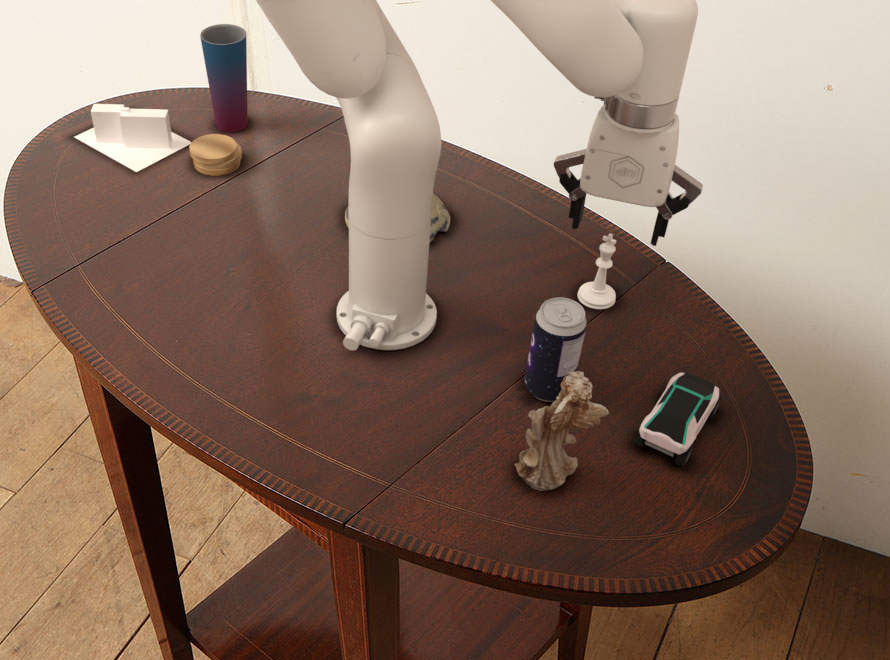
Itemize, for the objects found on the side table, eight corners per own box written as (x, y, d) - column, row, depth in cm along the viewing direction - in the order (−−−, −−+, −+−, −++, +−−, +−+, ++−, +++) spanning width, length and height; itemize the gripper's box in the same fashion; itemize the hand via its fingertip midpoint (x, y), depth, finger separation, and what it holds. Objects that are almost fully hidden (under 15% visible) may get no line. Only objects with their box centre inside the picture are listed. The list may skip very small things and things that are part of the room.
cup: (234, 140, 154) (226, 48, 143) (201, 127, 156) (190, 36, 146) (262, 121, 158) (255, 31, 147) (228, 109, 160) (220, 19, 150)
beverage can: (563, 370, 118) (579, 292, 110) (577, 403, 114) (596, 326, 106) (517, 375, 118) (530, 297, 109) (530, 409, 114) (545, 331, 105)
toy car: (629, 451, 109) (639, 418, 106) (669, 388, 117) (680, 355, 113) (679, 474, 107) (691, 441, 103) (717, 408, 114) (730, 375, 111)
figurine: (566, 448, 109) (590, 349, 99) (589, 489, 105) (616, 390, 95) (504, 461, 108) (521, 362, 97) (525, 503, 104) (545, 404, 93)
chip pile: (228, 181, 145) (226, 163, 143) (183, 170, 147) (180, 152, 145) (250, 155, 150) (248, 138, 148) (206, 145, 152) (204, 128, 150)
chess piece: (604, 314, 126) (619, 251, 119) (570, 299, 128) (583, 236, 121) (622, 295, 129) (637, 232, 122) (588, 280, 131) (602, 218, 124)
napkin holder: (193, 142, 153) (189, 108, 149) (137, 172, 146) (131, 138, 142) (129, 109, 159) (123, 76, 155) (72, 137, 153) (65, 104, 149)
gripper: (556, 107, 109) (539, 233, 121) (717, 135, 104) (682, 264, 116) (571, 76, 114) (553, 200, 126) (725, 102, 109) (691, 228, 121)
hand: (615, 231), depth 121 cm, fingers open, 9 cm apart
